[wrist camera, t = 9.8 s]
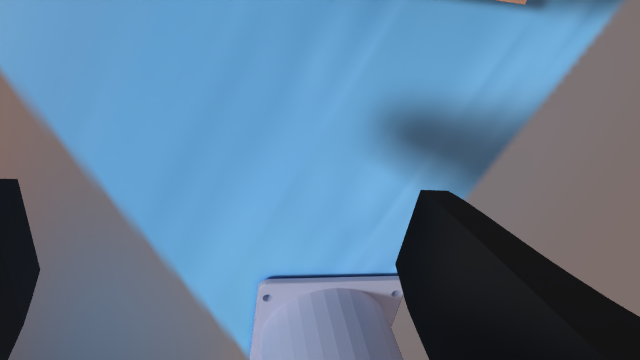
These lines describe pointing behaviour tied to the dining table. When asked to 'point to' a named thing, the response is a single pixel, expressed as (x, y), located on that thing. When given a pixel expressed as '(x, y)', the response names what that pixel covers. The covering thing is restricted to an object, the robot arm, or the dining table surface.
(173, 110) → the dining table surface
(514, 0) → the terracotta base
